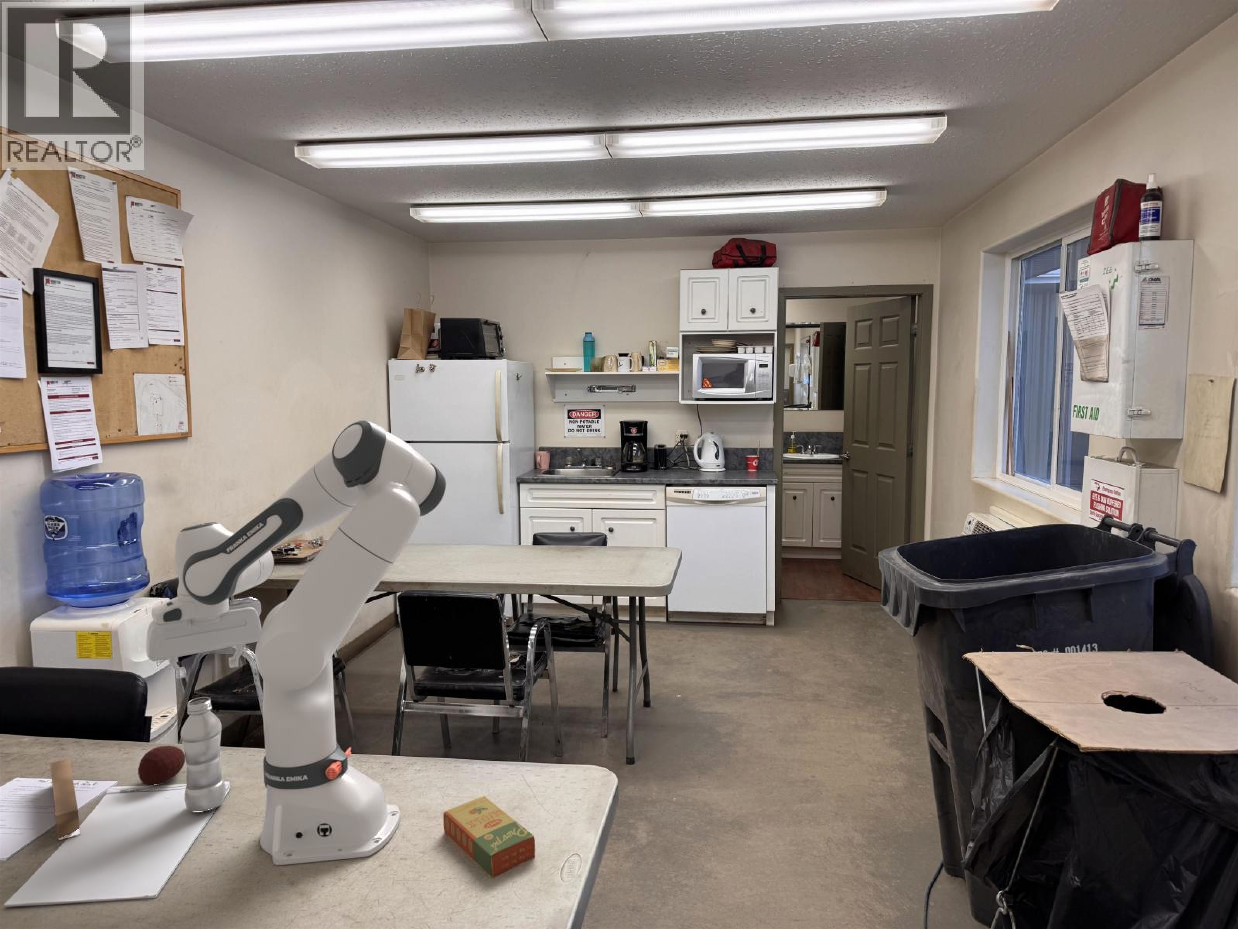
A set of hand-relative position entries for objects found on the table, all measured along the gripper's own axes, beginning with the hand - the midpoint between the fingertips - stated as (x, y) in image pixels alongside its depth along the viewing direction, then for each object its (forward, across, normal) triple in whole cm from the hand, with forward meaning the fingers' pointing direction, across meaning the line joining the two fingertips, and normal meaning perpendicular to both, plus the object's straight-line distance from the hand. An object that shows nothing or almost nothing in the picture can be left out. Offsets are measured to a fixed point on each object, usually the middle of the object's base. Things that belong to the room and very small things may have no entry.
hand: (208, 672), depth 151 cm
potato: (+20, +9, 0) cm, 22 cm away
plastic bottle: (+20, +4, +17) cm, 26 cm away
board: (+20, +24, 0) cm, 31 cm away
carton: (+20, -30, +60) cm, 70 cm away
